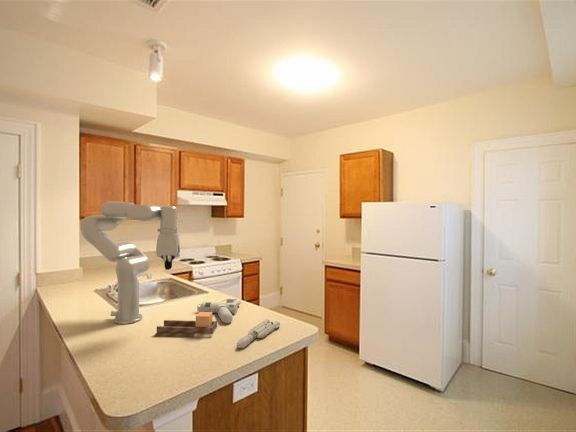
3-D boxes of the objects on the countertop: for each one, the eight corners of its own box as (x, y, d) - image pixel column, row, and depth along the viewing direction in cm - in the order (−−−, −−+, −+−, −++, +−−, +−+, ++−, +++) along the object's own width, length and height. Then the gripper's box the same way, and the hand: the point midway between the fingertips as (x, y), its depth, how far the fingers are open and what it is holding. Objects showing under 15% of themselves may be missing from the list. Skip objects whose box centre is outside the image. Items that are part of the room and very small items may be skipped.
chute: (154, 336, 136) (154, 328, 136) (166, 326, 148) (166, 318, 148) (211, 337, 135) (211, 329, 135) (217, 327, 147) (217, 319, 147)
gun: (245, 306, 180) (230, 325, 150) (198, 304, 183) (174, 323, 153) (245, 296, 180) (230, 314, 150) (198, 294, 183) (174, 311, 153)
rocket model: (281, 320, 149) (247, 344, 122) (280, 328, 149) (247, 353, 122) (264, 317, 153) (228, 339, 126) (264, 325, 153) (227, 348, 126)
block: (195, 331, 138) (195, 316, 138) (199, 326, 144) (199, 311, 144) (208, 331, 138) (208, 316, 138) (212, 326, 144) (212, 312, 144)
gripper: (149, 231, 145) (149, 270, 145) (181, 232, 145) (180, 271, 145) (156, 230, 153) (156, 267, 153) (186, 231, 152) (186, 268, 153)
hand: (168, 269), depth 149 cm, fingers closed
